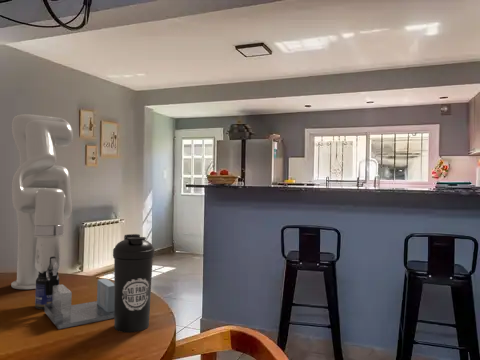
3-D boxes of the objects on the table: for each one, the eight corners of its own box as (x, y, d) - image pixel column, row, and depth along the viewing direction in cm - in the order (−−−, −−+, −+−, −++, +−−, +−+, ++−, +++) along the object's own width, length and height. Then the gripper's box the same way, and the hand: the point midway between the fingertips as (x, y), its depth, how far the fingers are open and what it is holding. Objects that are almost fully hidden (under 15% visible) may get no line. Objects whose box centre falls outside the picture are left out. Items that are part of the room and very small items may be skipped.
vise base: (43, 313, 105) (43, 284, 105) (110, 301, 116) (111, 275, 117) (55, 330, 94) (56, 297, 94) (129, 315, 105) (129, 286, 106)
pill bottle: (48, 310, 107) (50, 271, 107) (29, 308, 109) (31, 269, 109) (63, 304, 113) (64, 266, 113) (45, 302, 115) (46, 265, 115)
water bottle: (114, 336, 91) (117, 239, 91) (107, 322, 100) (110, 233, 100) (156, 330, 95) (159, 237, 96) (146, 316, 105) (149, 232, 105)
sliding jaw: (96, 303, 111) (97, 279, 111) (105, 302, 113) (106, 278, 113) (107, 312, 104) (108, 286, 104) (116, 310, 106) (117, 285, 106)
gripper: (28, 229, 115) (27, 286, 115) (41, 234, 102) (39, 299, 101) (55, 228, 120) (54, 283, 120) (71, 233, 106) (69, 295, 106)
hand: (47, 290), depth 110 cm, fingers open, 9 cm apart
